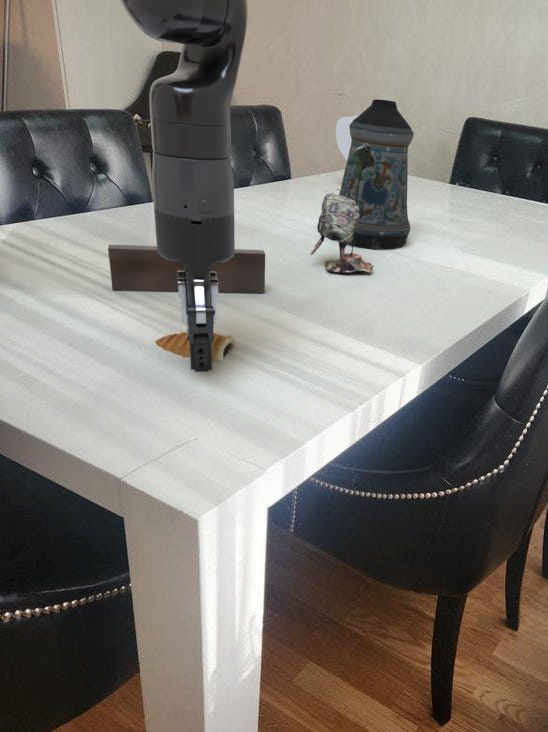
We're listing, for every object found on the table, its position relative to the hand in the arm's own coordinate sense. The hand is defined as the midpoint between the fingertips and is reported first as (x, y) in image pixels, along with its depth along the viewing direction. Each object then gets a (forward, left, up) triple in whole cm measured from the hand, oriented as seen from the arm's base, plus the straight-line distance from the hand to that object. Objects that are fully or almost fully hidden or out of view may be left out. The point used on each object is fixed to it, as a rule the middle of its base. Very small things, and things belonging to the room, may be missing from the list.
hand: (201, 371), depth 72 cm
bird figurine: (+13, +50, -2) cm, 52 cm away
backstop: (-9, +30, -1) cm, 32 cm away
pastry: (-1, +5, -2) cm, 5 cm away
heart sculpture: (+14, +125, -2) cm, 126 cm away
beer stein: (+17, +75, -2) cm, 77 cm away
